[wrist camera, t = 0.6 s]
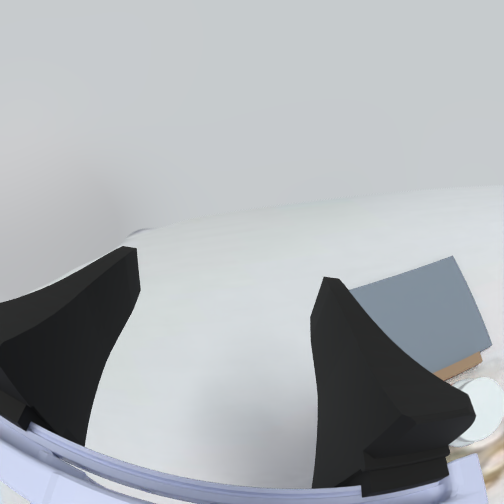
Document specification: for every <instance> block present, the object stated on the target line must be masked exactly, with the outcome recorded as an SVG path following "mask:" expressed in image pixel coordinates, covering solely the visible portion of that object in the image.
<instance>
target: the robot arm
mask: <svg viewBox="0 0 504 504" xmlns="http://www.w3.org/2000/svg"><path fill="white" fill-rule="evenodd" d="M140 291H141V288H140V279H139V270H138V259H137V248H131V247H125V246H122V247H120V248H118V249H116V250H114V251H112V252H110V253H109V254H107V255H105V256H103V257H102V258H100V259H98V260H96V261H95V262H93V263H91V264H89V265H88V266H86V267H84V268H83V269H81V270H79V271H77V272H75V273H73V274H71V275H70V276H68V277H66V278H64V279H62V280H60V281H58V282H56V283H54V284H52V285H50V286H47V287H45V288H43V289H41V290H38V291H35V292H33V293H30V294H27V295H24V296H22V297H19V298H16V299H13V300H9V301H6V302H2V303H0V480H1V481H2V482H3V483H4V484H6V485H7V486H8V487H10V488H11V489H12V490H14V491H15V492H17V493H18V494H19V495H21V496H22V497H24V498H25V499H27V500H28V501H30V502H31V503H30V504H156V503H152V502H148V501H145V500H141V499H138V498H134V497H131V496H128V495H125V494H122V493H118V492H115V491H113V490H110V489H107V488H105V487H103V486H101V485H100V484H98V483H96V482H95V481H93V480H92V479H91V478H89V477H88V476H87V475H86V474H85V472H83V471H81V470H79V469H77V468H75V467H73V466H71V465H69V464H72V465H74V466H76V467H78V468H81V469H83V470H85V471H88V472H90V473H93V474H95V475H98V476H100V477H103V478H105V479H108V480H111V481H114V482H116V483H119V484H122V485H125V486H128V487H132V488H135V489H138V490H141V491H145V492H149V493H152V494H156V495H160V496H164V497H168V498H172V499H177V500H182V501H187V502H192V503H197V504H488V498H487V493H486V488H485V484H484V479H483V475H482V471H481V467H480V463H479V459H478V456H477V454H476V453H474V454H471V455H468V456H465V457H462V458H459V459H456V460H453V461H451V462H449V463H447V462H446V458H445V457H446V456H448V455H449V454H450V450H449V446H448V445H449V444H450V443H452V442H453V441H454V440H456V439H457V438H458V437H459V436H461V435H462V434H463V433H464V432H465V431H466V430H468V429H469V428H470V427H471V425H472V424H473V423H474V421H475V418H476V414H475V411H474V408H473V405H472V403H471V400H470V397H469V395H468V394H467V393H465V392H463V391H461V390H459V389H457V388H456V387H454V386H452V385H450V384H448V383H447V382H445V381H443V380H442V379H440V378H439V377H437V376H436V375H434V374H433V373H431V372H430V371H428V370H427V369H425V368H424V367H423V366H421V365H420V364H419V363H418V362H416V361H415V360H414V359H413V358H411V357H410V356H409V355H408V354H406V353H405V352H404V351H403V350H402V349H401V348H400V347H399V346H398V345H397V344H395V343H394V342H393V341H392V340H391V339H390V338H389V337H388V336H387V335H386V334H385V333H384V332H383V331H382V329H381V328H380V327H379V326H378V325H377V324H376V323H375V322H374V321H373V320H372V318H371V317H370V316H369V315H368V314H367V313H366V311H365V310H364V309H363V308H362V306H361V305H360V304H359V303H358V301H357V300H356V299H355V298H354V296H353V295H352V294H351V293H350V291H349V290H348V289H347V288H346V286H345V285H344V284H343V283H342V282H341V280H340V279H337V278H330V277H324V278H323V281H322V284H321V287H320V290H319V293H318V296H317V299H316V302H315V305H314V308H313V311H312V314H311V317H310V330H311V346H312V353H313V360H314V368H315V375H316V383H317V393H318V425H317V445H316V458H315V467H314V475H313V483H312V489H275V488H257V487H245V486H235V485H227V484H219V483H213V482H206V481H200V480H195V479H190V478H185V477H180V476H175V475H171V474H167V473H162V472H158V471H155V470H151V469H147V468H144V467H140V466H137V465H133V464H130V463H127V462H124V461H121V460H118V459H115V458H112V457H109V456H106V455H104V454H101V453H98V452H96V451H93V450H91V449H88V448H86V447H85V440H86V434H87V428H88V423H89V418H90V414H91V409H92V405H93V401H94V398H95V394H96V391H97V387H98V384H99V381H100V378H101V375H102V372H103V369H104V367H105V364H106V361H107V359H108V357H109V355H110V352H111V350H112V349H113V347H114V345H115V343H116V341H117V339H118V337H119V335H120V333H121V332H122V330H123V328H124V326H125V324H126V322H127V320H128V319H129V317H130V315H131V313H132V311H133V309H134V306H135V304H136V301H137V299H138V296H139V293H140ZM62 460H63V461H62ZM64 461H65V462H64ZM66 462H67V463H66ZM68 463H69V464H68Z"/></svg>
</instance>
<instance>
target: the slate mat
mask: <svg viewBox="0 0 504 504" xmlns="http://www.w3.org/2000/svg"><path fill="white" fill-rule="evenodd" d="M349 291H350V293H351V294H352V295H353V296H354V298H355V299H356V300H357V301H358V303H359V304H360V305H361V306H362V308H363V309H364V310H365V311H366V313H367V314H368V315H369V316H370V317H371V318H372V320H373V321H374V322H375V323H376V324H377V325H378V326H379V327H380V328H381V329H382V331H383V332H384V333H385V334H386V335H387V336H388V337H389V338H390V339H391V340H392V341H393V342H394V343H395V344H397V345H398V346H399V347H400V348H401V349H402V350H403V351H404V352H405V353H406V354H408V355H409V356H410V357H411V358H413V359H414V360H415V361H416V362H418V363H419V364H420V365H421V366H423V367H424V368H425V369H427V370H428V371H430V372H431V373H433V374H434V375H436V376H437V377H439V378H440V379H442V380H443V381H445V380H447V379H449V378H452V377H454V376H456V375H458V374H460V373H462V372H464V371H466V370H468V369H470V368H472V367H474V366H476V365H478V364H479V363H481V362H482V358H481V355H480V352H481V351H483V350H484V349H486V348H488V347H490V346H491V345H492V343H491V340H490V337H489V335H488V332H487V329H486V327H485V324H484V322H483V319H482V317H481V314H480V312H479V310H478V307H477V305H476V303H475V300H474V298H473V296H472V294H471V291H470V289H469V287H468V285H467V283H466V281H465V279H464V277H463V275H462V273H461V271H460V269H459V267H458V265H457V263H456V261H455V259H454V257H453V256H451V257H448V258H445V259H442V260H440V261H437V262H434V263H431V264H428V265H425V266H423V267H420V268H417V269H414V270H411V271H408V272H405V273H402V274H399V275H396V276H393V277H390V278H387V279H384V280H380V281H377V282H374V283H371V284H368V285H364V286H361V287H358V288H355V289H351V290H349Z"/></svg>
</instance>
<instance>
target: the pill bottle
mask: <svg viewBox="0 0 504 504" xmlns="http://www.w3.org/2000/svg"><path fill="white" fill-rule="evenodd" d="M452 386H454V387H456V388H457V389H459V390H461V391H463V392H465V393H467V394H468V395H469V397H470V400H471V403H472V405H473V408H474V411H475V414H476V418H475V421H474V423H473V424H472V425H471V427H470V428H469V429H468V430H466V431H465V432H464V433H463V434H462V435H461V436H459V437H458V438H457V439H456V440H454V441H453V442H452V443H450V444H449V445H448V446H452V447H464V446H468V445H470V444H472V443H474V442H476V441H480V440H483V439H485V438H487V437H488V436H490V435H491V434H492V433H493V432H494V431H495V430H496V429H497V427H498V426H499V424H500V423H501V421H502V418H503V416H504V392H503V389H502V387H501V386H500V385H499V383H497V382H496V381H495V380H493V379H491V378H488V377H480V378H476V379H463V380H460V381H458V382H456V383H454V384H452Z"/></svg>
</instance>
